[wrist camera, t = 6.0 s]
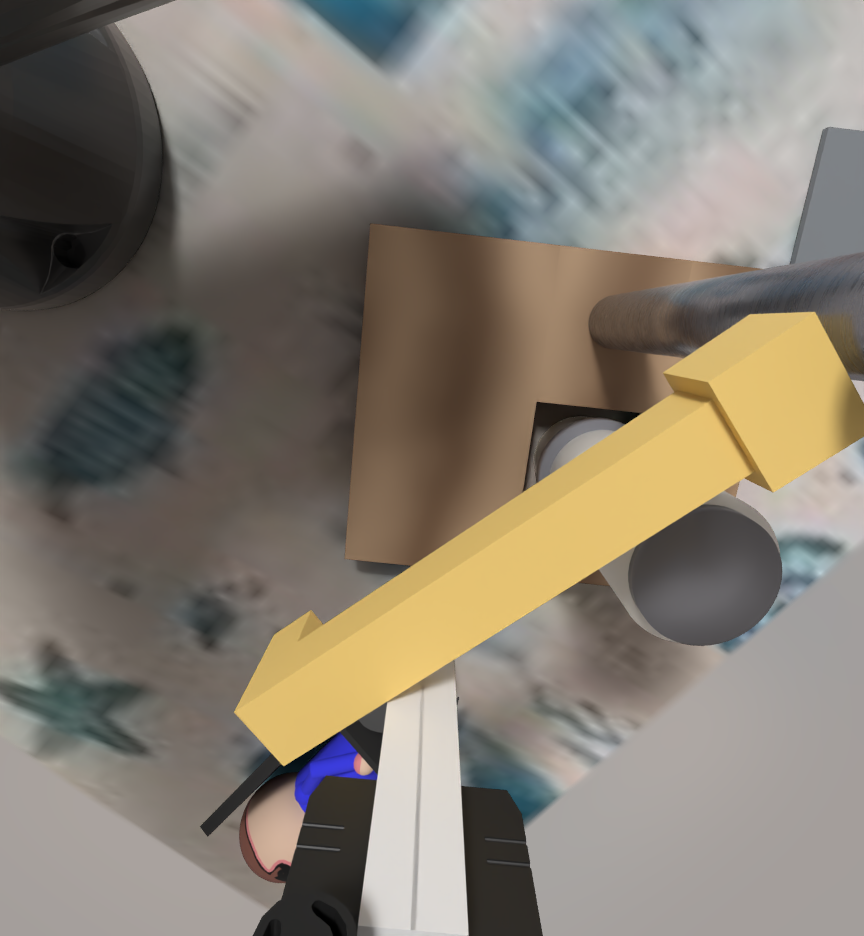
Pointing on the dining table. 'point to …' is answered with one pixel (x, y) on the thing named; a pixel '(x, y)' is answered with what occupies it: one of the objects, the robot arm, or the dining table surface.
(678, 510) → the bar
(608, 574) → the plug
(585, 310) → the socket board
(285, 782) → the character figurine
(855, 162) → the mat
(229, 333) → the dining table surface
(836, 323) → the post
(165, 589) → the dining table surface
